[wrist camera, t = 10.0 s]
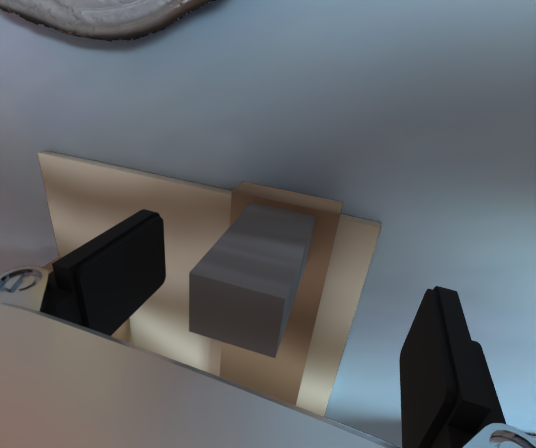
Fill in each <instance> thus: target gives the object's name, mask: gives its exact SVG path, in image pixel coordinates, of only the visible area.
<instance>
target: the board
mask: <svg viewBox="0 0 536 448" xmlns="http://www.w3.org/2000/svg"><path fill="white" fill-rule="evenodd" d="M38 157H39V162H40V167H41V172H42V177H43V181H44V186H45V191H46V196H47V201H48V205H49V210H50V215H51V220H52V225H53V229H54V234H55V239H56V244H57V249H58V253H59V257H60V256H62V257H64V256H65V255H67V254H69V253H70V252H72V251H74V250H75V249H77V248H79V247H80V246H82V245H84V244H85V243H87V242H88V241H90V240H92V239H93V238H95V237H97V236H98V235H100V234H102V233H103V232H105V231H107V230H108V229H110V228H112V227H113V226H115V225H117V224H118V223H120V222H122V221H123V220H125V219H127V218H128V217H130V216H132V215H133V214H135V213H137V212H138V211H140V210H142V209H146V210H150V211H154V212H157V213H159V215H160V217H161V218H162V219H163V222H164V243H165V265H166V279H165V281H164V283H163V285H162V286H161V287H160V288H159V289H158V290H157V291H156V292H155V293H154V294H153V295H152V296H151V297H150V298H149V299H148V300H147V301H146V302H145V303H144V304H143V305H142V306H141V307H140V308H139V309H138V310H137V311H136V312H135V313H134V314H133V315H132V316H131V317H130V328H131V338H132V344H133V345H135V346H138V347H141V348H144V349H146V350H149V351H152V352H154V353H157V354H160V355H162V356H165V357H168V358H171V359H173V360H176V361H179V362H181V363H184V364H187V365H189V366H192V367H195V368H197V369H200V370H203V371H205V372H208V373H211V374H213V375H216V376H219V377H220V362H221V346H222V342H221V341H218V340H215V339H211V338H208V337H205V336H202V335H199V334H195V333H192V332H189V272H190V271H191V270H192V269H193V268H194V267H195V266H196V264H197V263H198V262H199V261H200V260H201V259H202V258H203V256H204V255H205V254H206V253H207V252H208V251H209V250H210V249H211V247H212V246H213V245H214V244H215V243H216V242H217V241H218V239H219V238H220V237H221V236H222V235H223V234H224V233H225V232H226V230H227V229H228V228H229V226H230V210H231V195H232V191H231V190H227V189H222V188H217V187H213V186H208V185H204V184H199V183H194V182H190V181H185V180H180V179H176V178H171V177H166V176H162V175H157V174H152V173H148V172H143V171H138V170H134V169H129V168H124V167H120V166H115V165H110V164H106V163H101V162H96V161H92V160H87V159H82V158H78V157H73V156H68V155H64V154H59V153H55V152H50V151H43V152H39V153H38ZM380 229H381V223H380V222H376V221H371V220H366V219H362V218H357V217H352V216H348V215H343V214H341V215H340V219H339V223H338V228H337V232H336V236H335V240H334V245H333V249H332V253H331V258H330V262H329V266H328V270H327V275H326V279H325V283H324V287H323V292H322V296H321V300H320V304H319V309H318V313H317V317H316V321H315V326H314V330H313V334H312V339H311V343H310V347H309V351H308V356H307V360H306V364H305V368H304V373H303V377H302V381H301V385H300V390H299V394H298V398H297V403H296V406H298V407H300V408H303V409H306V410H308V411H311V412H313V413H316V414H319V415H321V416H324V415H325V411H326V408H327V405H328V401H329V398H330V395H331V391H332V388H333V385H334V382H335V378H336V375H337V372H338V368H339V365H340V362H341V358H342V355H343V352H344V348H345V345H346V342H347V339H348V335H349V332H350V329H351V325H352V322H353V319H354V315H355V312H356V309H357V305H358V302H359V299H360V295H361V292H362V289H363V286H364V282H365V279H366V276H367V272H368V269H369V266H370V262H371V259H372V256H373V252H374V249H375V246H376V243H377V239H378V236H379V233H380Z"/></svg>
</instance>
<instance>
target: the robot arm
mask: <svg viewBox="0 0 536 448" xmlns="http://www.w3.org/2000/svg"><path fill="white" fill-rule="evenodd" d="M52 266H53V271H52V272H51V273H49V274H48V272H47V271H46V269H44V268H41V267H37V266H24V267H19V268H15V269H12V270H8V271H6V272H4V273H2V274H0V448H399V447H397V446H395V445H393V444H390V443H388V442H386V441H384V440H381V439H379V438H376V437H374V436H371V435H369V434H366V433H364V432H361V431H359V430H356V429H354V428H351V427H349V426H346V425H344V424H341V423H339V422H336V421H334V420H331V419H329V418H326V417H324V416H321V415H319V414H316V413H313V412H311V411H308V410H306V409H303V408H300V407H298V406H295V405H292V404H290V403H287V402H285V401H282V400H279V399H277V398H274V397H271V396H269V395H266V394H264V393H261V392H258V391H256V390H253V389H250V388H248V387H245V386H243V385H240V384H237V383H235V382H232V381H229V380H227V379H224V378H221V377H219V376H216V375H213V374H211V373H208V372H205V371H203V370H200V369H197V368H195V367H192V366H189V365H187V364H184V363H181V362H179V361H176V360H173V359H171V358H168V357H165V356H162V355H160V354H157V353H154V352H152V351H149V350H146V349H144V348H141V347H138V346H135V345H133V344H130V343H127V342H125V341H122V340H119V339H116V338H114V337H111V335H112V334H113V333H114V332H115V331H116V330H117V329H118V328H119V327H120V326H121V325H122V324H123V323H124V322H125V321H126V320H127V319H129V318H130V317H131V316H132V315H133V314H134V313H135V312H136V311H137V310H138V309H139V308H140V307H141V306H142V305H143V304H144V303H145V302H146V301H147V300H148V299H149V298H150V297H151V296H152V295H153V294H154V293H155V292H156V291H157V290H158V289H159V288H160V287H161V286H162V285H163V283H164V281H165V279H166V265H165V243H164V222H163V219H162V218H161V217H160V215H159V213H157V212H154V211H150V210H146V209H142V210H140V211H138V212H137V213H135V214H133V215H132V216H130V217H128V218H127V219H125V220H123V221H122V222H120V223H118V224H117V225H115V226H113V227H112V228H110V229H108V230H107V231H105V232H103V233H102V234H100V235H98V236H97V237H95V238H93V239H92V240H90V241H88V242H87V243H85V244H84V245H82V246H80V247H79V248H77V249H75V250H74V251H72V252H70V253H69V254H67V255H65V256H64V257H62V258H60V259H59V260H57V261H55V262H54V263H52ZM400 387H401V417H402V447H403V448H536V440H534V439H533V438H531V437H530V436H529V435H527V434H526V433H524V432H523V431H521V430H519V429H517V428H515V427H513V426H510V425H506V422H505V419H504V415H503V412H502V409H501V406H500V403H499V400H498V397H497V394H496V391H495V387H494V384H493V381H492V378H491V375H490V372H489V369H488V366H487V363H486V359H485V356H484V353H483V350H482V347H481V345H480V344H479V343H478V342H476V341H473V340H471V337H470V334H469V330H468V327H467V324H466V320H465V317H464V313H463V310H462V306H461V303H460V300H459V296H458V293H457V292H456V291H454V290H450V289H446V288H442V287H438V286H436V287H435V288H434V289H433V290H432V289H427V291H426V293H425V295H424V297H423V300H422V302H421V304H420V307H419V309H418V312H417V314H416V316H415V319H414V321H413V323H412V326H411V328H410V331H409V333H408V335H407V338H406V340H405V343H404V345H403V347H402V350H401V354H400Z"/></svg>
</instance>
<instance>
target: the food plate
mask: <svg viewBox="0 0 536 448" xmlns="http://www.w3.org/2000/svg"><path fill="white" fill-rule="evenodd" d="M210 1H215V0H0V9H2V10H3V11H5V12H8V13H10V12H11V13H12V12H15V13H16V14H19V15H20V17H22V18H24V19H25V20H27V21H30V22H33V23H35V24H37V25H38V23H39V24H44V26H46V27H51V28H54V29H55V30H58V31H60V32H63V33H66V34H70V35H74V36H78V37H86V38H88V39H89V38H91V39H98V40H107V41H111V40H118V39H121V40H125V39H126V40H131V39H132V38H133V39H134V40H135V39H138V38H140V37H144V36H147V35H148V34H150V33H155V32H157V31H159V30H163V29H165V28H166V27H167V26H169V25H170V24H173V23H174V22H176V21H177V20H178V18H179V19H181V18H182V17H183V15H185V14H186V13H188V14H189V13H190V11H194V10H197V9H199V8H200V7H201V6H204V5H205V4H208V2H210Z"/></svg>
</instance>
